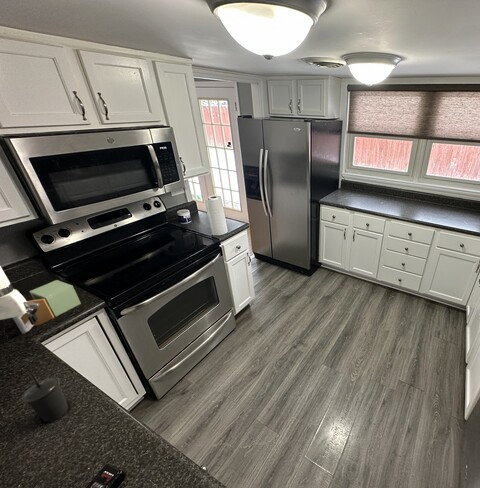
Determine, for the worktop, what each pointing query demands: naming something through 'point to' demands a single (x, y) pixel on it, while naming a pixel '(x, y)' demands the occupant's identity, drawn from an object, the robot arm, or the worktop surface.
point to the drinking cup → (46, 398)
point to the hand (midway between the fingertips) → (19, 325)
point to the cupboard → (57, 296)
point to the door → (42, 315)
